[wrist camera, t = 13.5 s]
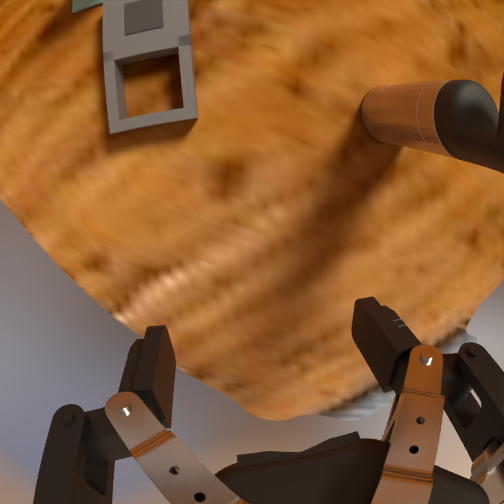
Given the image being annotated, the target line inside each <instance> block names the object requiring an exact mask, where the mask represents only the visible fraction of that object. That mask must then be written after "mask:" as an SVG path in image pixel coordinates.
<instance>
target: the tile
mask: <svg viewBox="0 0 504 504" xmlns="http://www.w3.org/2000/svg"><path fill="white" fill-rule="evenodd" d="M102 3H103V0H73V5H72V13H76V12H79V11H81V10H84V9H87V8H90V7H93V6H96V5H99V4H102Z"/></svg>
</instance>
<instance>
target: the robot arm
mask: <svg viewBox="0 0 504 504" xmlns="http://www.w3.org/2000/svg"><path fill="white" fill-rule="evenodd" d="M361 116H362V121H363V124H364V126H365V128H366V130H367V131H368V132H369V134H370V135H371V136H372V137H374V138H375V139H377V140H378V141H381V142H385V143H390V144H395V145H399V146H404V147H409V148H414V149H418V150H423V151H427V152H431V153H435V154H440V155H444V156H448V157H452V158H455V159H459V160H463V161H466V162H470V163H474V164H477V165H481V166H484V167H487V168H490V169H493V170H496V171H499V172H501V173H504V73H503V77H502V84H501V97H500V109H499V113H498V110H497V107H496V105H495V102H494V100H493V99H492V97H491V95H490V94H489V93H488V91H487V90H486V89H485V88H484V87H483V86H481V85H480V84H478V83H476V82H474V81H471V80H441V81H428V82H416V83H406V84H396V85H388V86H381V87H376V88H374V89H372V90H370V91H369V92H368V93H367V94H366V96H365V97H364V100H363V102H362V106H361ZM352 337H353V340H354V342H355V343H356V345H357V347H358V349H359V350H360V352H361V354H362V355H363V357H364V359H365V360H366V362H367V364H368V366H369V367H370V369H371V371H372V373H373V374H374V376H375V378H376V379H377V381H378V383H379V385H380V386H381V388H382V390H383V392H384V393H386V392H389V391H392V390H394V392H395V393H396V395H395V397H394V400H393V405H392V408H391V411H390V415H389V418H388V422H387V425H386V428H385V431H384V435H383V437H382V439H381V440H377V439H368V438H362V439H360V437H359V434H358V432H357V431H356V432H353V433H350V434H346V435H342V436H338V437H335V438H330V439H328V440H326V441H324V442H322V443H320V444H318V445H316V446H314V447H311V448H309V449H307V450H305V451H302V452H276V451H265V452H258V453H250V454H242V455H237V461H238V463H235V464H232V465H230V466H228V467H225V468H224V469H222V470H220V471H219V472H217V473H216V474H215V475H213V474H212V473H211V472H210V471H209V470H208V469H207V468H206V467H205V466H204V465H203V464H202V463H201V462H200V461H199V460H198V459H197V458H196V457H195V456H194V455H193V454H192V453H191V452H190V451H189V450H188V449H187V448H186V447H185V446H184V445H183V444H182V442H181V441H180V440H179V439H178V438H177V437H176V436H175V435H174V434H173V433H172V432H171V431H167V430H166V429H165V428H171V418H172V405H173V392H174V380H175V379H174V378H175V369H176V360H175V354H174V350H173V347H172V344H171V340H170V337H169V334H168V330H167V327H166V326H165V325H158V326H148V327H147V329H146V333H145V337H144V339H137V340H136V341H135V342H134V344H133V345H132V346H131V347H130V350H129V354H128V358H127V361H126V366H125V368H124V372H123V375H122V380H121V383H120V387H119V391H118V393H117V394H115V395H113V396H112V397H111V398H109V400H108V401H107V403H106V405H105V407H103V408H100V409H96V410H92V411H87V412H84V411H83V409H82V408H81V407H80V406H78V405H75V404H68V405H65V406H62V407H61V408H59V409H58V410H57V411H56V412H55V414H54V416H53V419H52V422H51V426H50V429H49V433H48V437H47V440H46V444H45V448H44V452H43V456H42V461H41V465H40V469H39V474H38V479H37V484H36V489H35V496H34V501H33V504H112V493H113V478H114V464H115V460H118V459H123V458H127V457H131V456H133V457H134V459H135V460H136V461H137V463H138V464H139V465H140V467H141V468H142V469H143V471H144V472H145V473H146V474H147V476H148V477H149V478H150V480H151V481H152V482H153V483H154V485H155V486H156V487H157V488H158V490H159V491H160V492H161V493H162V494H163V495H164V497H165V498H166V499H167V500H168V501H169V503H170V504H502V503H504V372H503V371H502V369H501V368H500V367H499V365H498V364H497V363H496V362H495V361H494V359H493V358H492V357H491V356H490V354H489V353H488V352H487V351H486V350H485V349H484V348H483V347H482V346H481V345H479V344H477V343H473V342H467V343H464V344H463V345H461V347H460V349H459V351H458V353H453V354H441V352H440V351H439V350H438V349H437V348H435V347H433V346H430V345H422V344H421V343H420V341H419V340H418V339H417V338H416V337H415V335H414V334H413V333H412V332H411V330H410V329H409V328H408V327H407V326H405V323H404V322H403V321H402V320H400V317H399V316H398V315H397V314H396V312H395V311H393V310H392V309H390V308H388V307H387V306H381V305H380V304H379V303H378V301H377V300H376V299H375V298H374V297H367V298H362V299H357V300H356V301H355V306H354V314H353V321H352ZM472 389H473V390H474V391H475V393H476V394H477V396H478V397H479V399H480V401H481V406H482V407H480V406H479V404H478V403H477V401H476V400H475V398H474V396H473V395H472V393H471V392H470V391H471V390H472ZM443 409H444V411H445V412H446V414H447V416H448V417H449V419H450V421H451V423H452V424H453V426H454V428H455V430H456V432H457V434H458V435H459V437H460V439H461V441H462V443H463V444H464V447H465V448H466V450H467V452H468V454H469V456H470V458H471V460H472V462H473V464H472V467H471V474H472V475H471V477H470V479H467V478H465V477H462V476H460V475H457V474H455V473H453V472H450V471H448V470H445V469H443V468H441V467H439V466H436V465H434V464H435V459H436V454H437V449H438V443H439V437H440V431H441V424H442V417H443Z"/></svg>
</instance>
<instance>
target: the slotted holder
mask: <svg viewBox="0 0 504 504" xmlns="http://www.w3.org/2000/svg"><path fill="white" fill-rule="evenodd" d="M175 54H179V61H180V73H181V85H182V95H183V106H184V108H180V109H174V110H168V111H162V112H156V113H151V114H146V115H141V116H136V117H131V118H127V110H126V100H125V90H124V77H123V65H126V64H130V63H134V62H139V61H143V60H148V59H153V58H158V57H164V56H169V55H175ZM103 61H104V78H105V91H106V102H107V112H108V121H109V129H110V134H112V133H120V132H124V131H129V130H134V129H139V128H144V127H149V126H154V125H160V124H165V123H171V122H178V121H184V120H191V119H198V109H197V99H196V88H195V77H194V66H193V54H192V41H191V27H190V12H189V0H103Z"/></svg>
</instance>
